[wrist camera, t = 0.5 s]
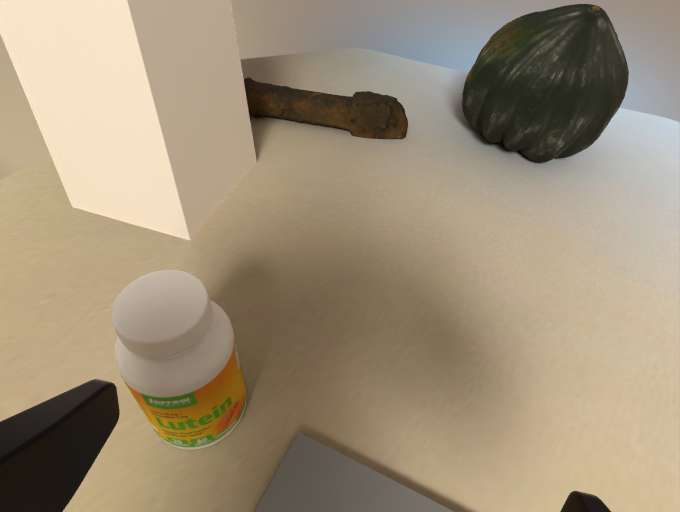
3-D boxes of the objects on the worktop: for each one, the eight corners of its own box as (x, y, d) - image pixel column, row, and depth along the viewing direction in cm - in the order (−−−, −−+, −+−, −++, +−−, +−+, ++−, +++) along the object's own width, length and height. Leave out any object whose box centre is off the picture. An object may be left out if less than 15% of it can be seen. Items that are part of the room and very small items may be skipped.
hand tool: (236, 120, 49) (230, 80, 46) (251, 104, 52) (247, 65, 49) (399, 155, 46) (405, 114, 43) (406, 136, 49) (413, 96, 45)
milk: (156, 138, 45) (48, -238, 27) (256, 162, 43) (214, -230, 24) (72, 206, 37) (-168, -265, 19) (190, 240, 35) (52, -256, 16)
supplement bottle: (162, 469, 23) (97, 379, 16) (145, 384, 26) (85, 278, 19) (260, 427, 25) (240, 328, 18) (233, 352, 28) (206, 244, 21)
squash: (484, 46, 53) (505, -47, 38) (613, 77, 50) (690, -12, 35) (444, 155, 53) (449, 103, 38) (570, 193, 50) (629, 152, 35)
